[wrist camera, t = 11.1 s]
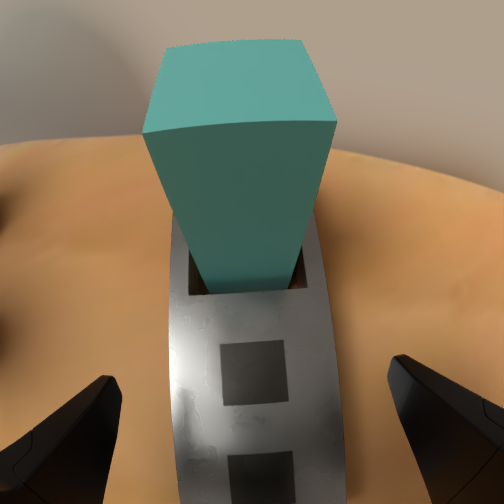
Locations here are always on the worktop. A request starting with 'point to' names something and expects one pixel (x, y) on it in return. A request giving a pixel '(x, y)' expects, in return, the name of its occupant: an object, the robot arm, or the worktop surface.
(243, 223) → the teal peg
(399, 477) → the worktop surface
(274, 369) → the grey peg board
